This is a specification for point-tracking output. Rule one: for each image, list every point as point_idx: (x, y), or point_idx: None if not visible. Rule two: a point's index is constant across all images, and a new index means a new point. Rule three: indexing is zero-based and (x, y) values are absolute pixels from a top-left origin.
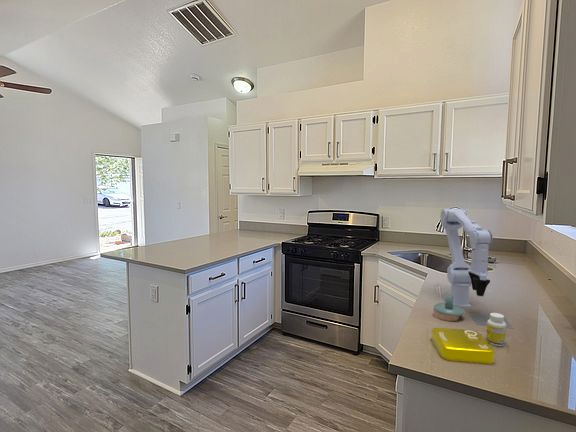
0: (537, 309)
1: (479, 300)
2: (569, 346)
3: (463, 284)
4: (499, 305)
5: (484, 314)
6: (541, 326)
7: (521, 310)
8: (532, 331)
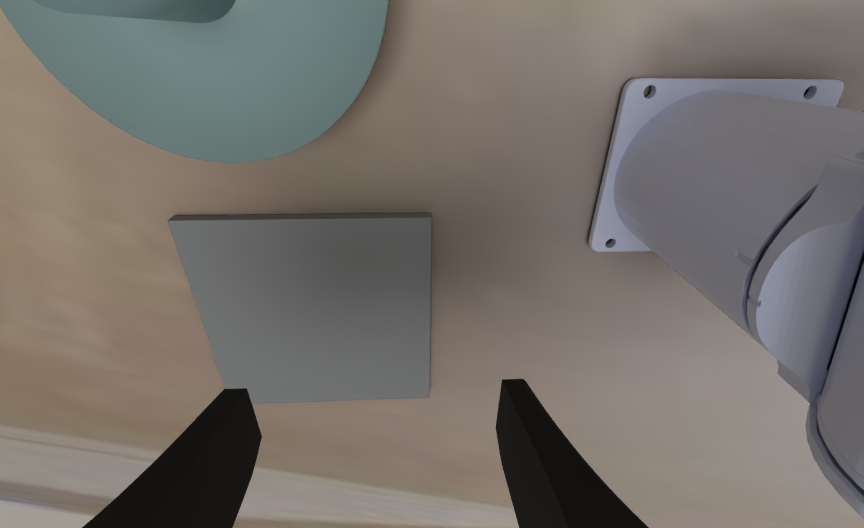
0: None
1: None
2: None
3: (798, 303)
4: (649, 407)
5: (425, 307)
6: (366, 495)
7: None
8: (273, 458)
